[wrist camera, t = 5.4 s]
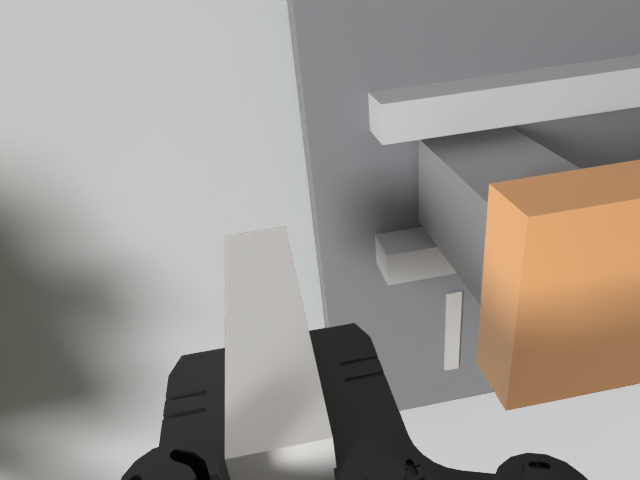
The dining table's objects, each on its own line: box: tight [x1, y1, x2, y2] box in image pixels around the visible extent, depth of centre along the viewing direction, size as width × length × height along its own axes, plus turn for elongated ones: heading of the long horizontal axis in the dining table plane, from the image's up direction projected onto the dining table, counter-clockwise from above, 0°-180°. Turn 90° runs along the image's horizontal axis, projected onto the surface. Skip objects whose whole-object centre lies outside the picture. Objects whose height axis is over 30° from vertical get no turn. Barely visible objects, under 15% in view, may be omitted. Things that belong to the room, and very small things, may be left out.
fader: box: [419, 126, 640, 410], centre depth 14 cm, size 4×5×8 cm
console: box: [287, 0, 640, 411], centre depth 18 cm, size 20×22×3 cm
